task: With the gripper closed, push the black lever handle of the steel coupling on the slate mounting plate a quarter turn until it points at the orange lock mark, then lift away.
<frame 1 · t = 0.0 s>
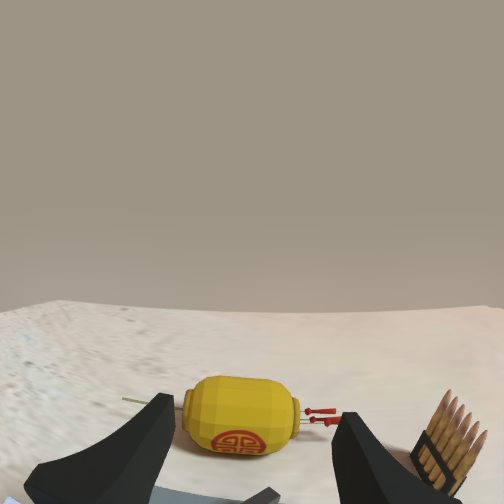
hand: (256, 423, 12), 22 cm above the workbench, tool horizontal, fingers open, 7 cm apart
ammunition clip: (427, 480, 28), on the workbench
lantern: (236, 443, 37), on the workbench
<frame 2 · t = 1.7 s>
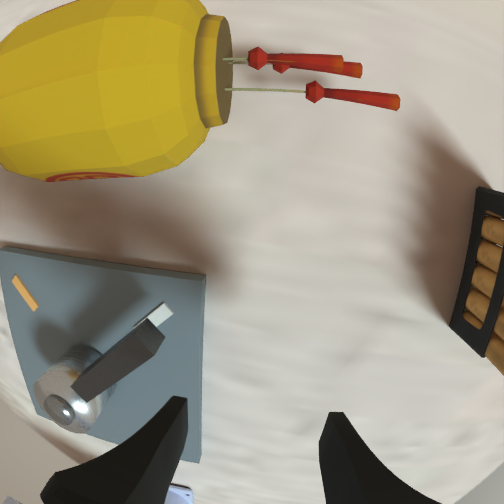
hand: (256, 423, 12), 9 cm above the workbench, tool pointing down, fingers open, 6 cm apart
mounting plate: (97, 362, 23), on the workbench
ammunition clip: (473, 260, 19), on the workbench
coupling: (98, 372, 18), point 4 cm above the workbench, hinge at 0.0°
lantern: (131, 100, 18), on the workbench
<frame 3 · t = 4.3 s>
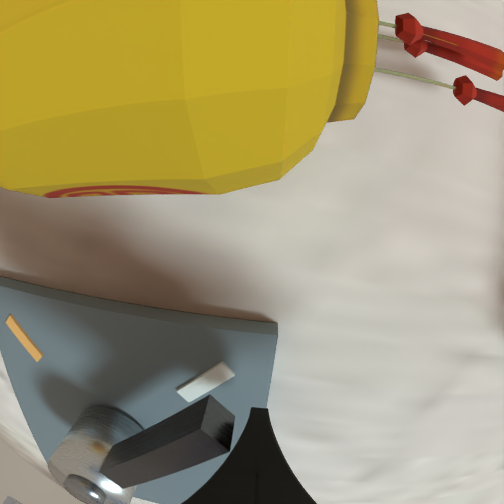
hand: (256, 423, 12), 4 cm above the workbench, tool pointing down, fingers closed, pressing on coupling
mounting plate: (122, 420, 18), on the workbench
coupling: (133, 449, 13), point 4 cm above the workbench, hinge at 0.3°, touching gripper
lantern: (170, 79, 13), on the workbench
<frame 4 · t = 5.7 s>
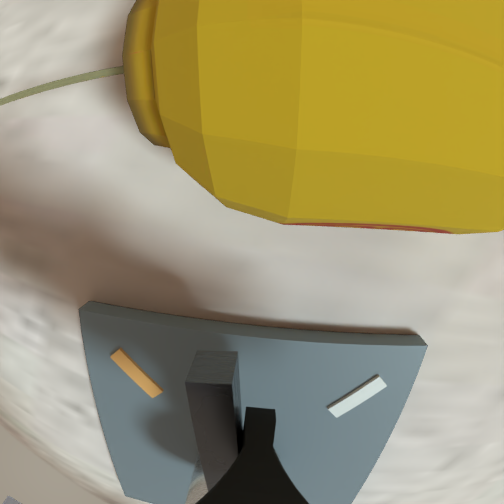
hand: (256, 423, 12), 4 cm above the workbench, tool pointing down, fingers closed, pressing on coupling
mounting plate: (240, 444, 18), on the workbench
coupling: (229, 456, 13), point 4 cm above the workbench, hinge at 52.0°, touching gripper
lantern: (342, 101, 13), on the workbench
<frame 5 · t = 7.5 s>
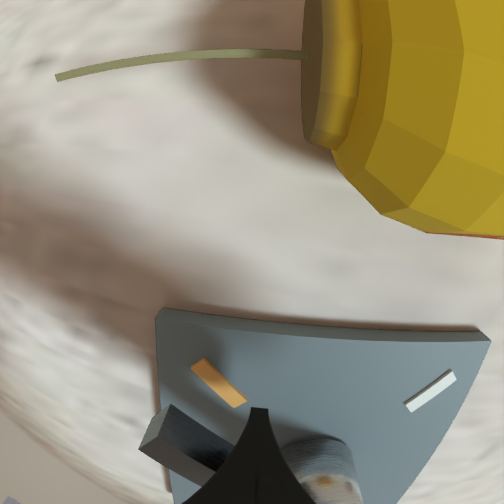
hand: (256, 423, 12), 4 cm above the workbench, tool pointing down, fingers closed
mounting plate: (310, 446, 17), on the workbench
coupling: (266, 474, 13), point 4 cm above the workbench, hinge at 97.4°, touching gripper
lantern: (432, 113, 12), on the workbench
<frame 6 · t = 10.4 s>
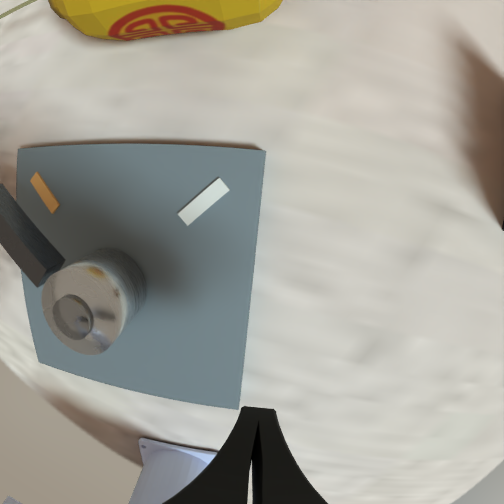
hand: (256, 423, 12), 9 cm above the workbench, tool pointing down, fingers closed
mounting plate: (121, 277, 21), on the workbench
coupling: (51, 257, 16), point 4 cm above the workbench, hinge at 97.5°
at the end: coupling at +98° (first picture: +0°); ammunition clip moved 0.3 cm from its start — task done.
